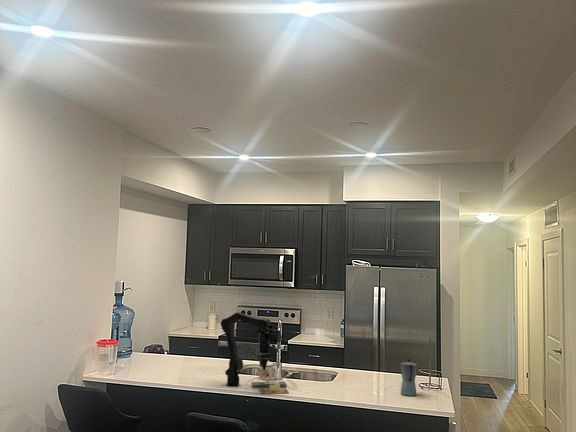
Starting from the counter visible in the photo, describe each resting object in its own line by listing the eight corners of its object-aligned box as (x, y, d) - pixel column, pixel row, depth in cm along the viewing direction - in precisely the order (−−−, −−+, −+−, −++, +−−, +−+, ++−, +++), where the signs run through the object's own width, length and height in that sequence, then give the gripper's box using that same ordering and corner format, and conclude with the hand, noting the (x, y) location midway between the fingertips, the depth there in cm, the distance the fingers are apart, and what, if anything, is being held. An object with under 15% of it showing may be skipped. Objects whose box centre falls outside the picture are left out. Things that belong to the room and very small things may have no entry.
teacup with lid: (256, 378, 337) (257, 360, 338) (262, 376, 345) (263, 357, 346) (273, 381, 332) (274, 362, 333) (279, 378, 341) (280, 359, 342)
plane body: (252, 388, 312) (253, 379, 313) (251, 385, 319) (251, 376, 320) (286, 387, 316) (286, 379, 317) (284, 385, 323) (284, 376, 323)
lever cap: (269, 391, 303) (269, 385, 304) (268, 389, 308) (268, 383, 308) (279, 391, 305) (280, 385, 305) (278, 389, 309) (278, 383, 309)
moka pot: (413, 391, 317) (414, 357, 319) (420, 398, 302) (421, 362, 303) (397, 391, 317) (398, 356, 318) (404, 398, 301) (404, 361, 303)
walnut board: (261, 393, 300) (261, 393, 300) (258, 389, 310) (258, 388, 310) (289, 393, 303) (289, 392, 303) (285, 389, 313) (285, 388, 313)
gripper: (280, 343, 305) (279, 371, 303) (274, 338, 323) (273, 365, 322) (261, 343, 302) (260, 371, 301) (256, 338, 321) (255, 365, 319)
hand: (262, 368), depth 311 cm, fingers open, 9 cm apart
